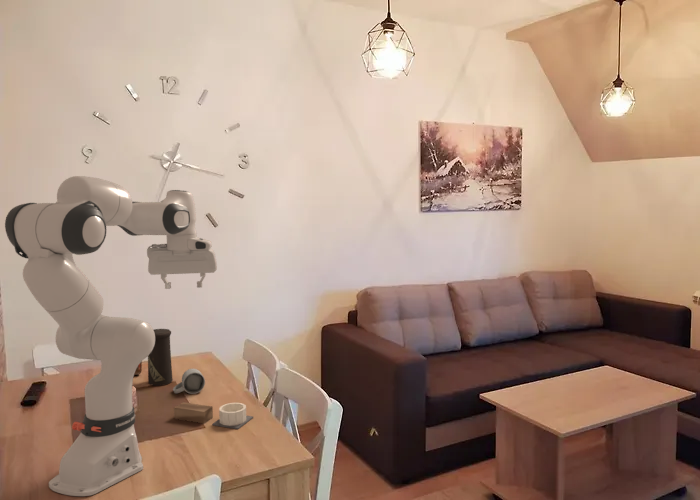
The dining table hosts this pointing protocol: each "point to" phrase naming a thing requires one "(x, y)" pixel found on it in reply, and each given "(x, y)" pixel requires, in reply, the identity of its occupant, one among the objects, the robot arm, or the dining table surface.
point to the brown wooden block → (193, 412)
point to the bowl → (232, 414)
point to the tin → (138, 369)
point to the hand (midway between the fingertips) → (184, 287)
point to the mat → (233, 425)
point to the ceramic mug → (191, 382)
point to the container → (160, 359)
